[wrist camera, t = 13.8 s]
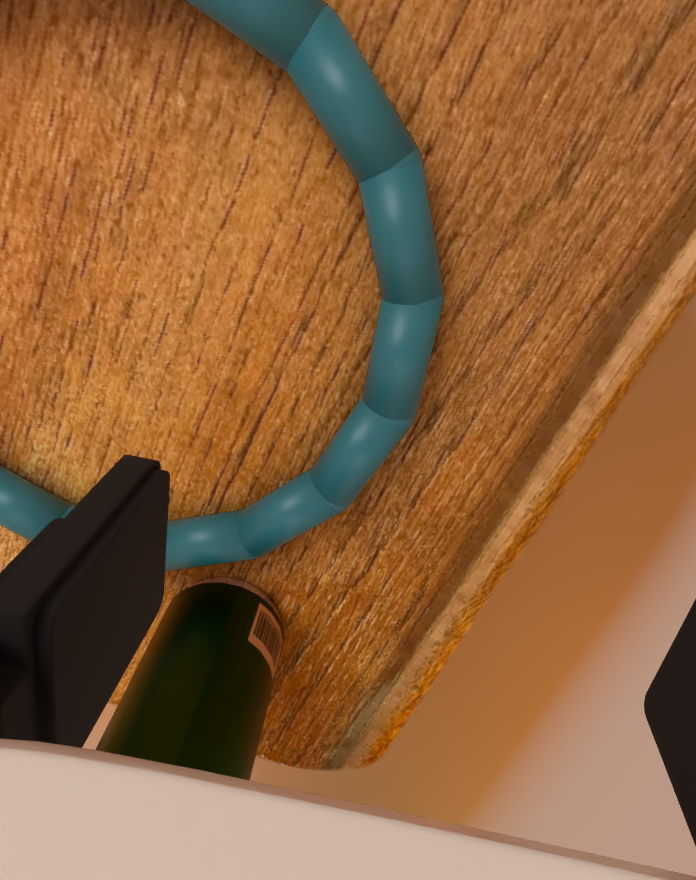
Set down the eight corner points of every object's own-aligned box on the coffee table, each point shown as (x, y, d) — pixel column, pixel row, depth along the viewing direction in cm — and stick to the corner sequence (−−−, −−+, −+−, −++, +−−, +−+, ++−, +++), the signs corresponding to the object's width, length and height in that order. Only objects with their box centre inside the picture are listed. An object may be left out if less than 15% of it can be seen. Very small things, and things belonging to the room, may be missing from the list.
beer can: (238, 551, 27) (125, 830, 16) (310, 636, 29) (252, 938, 18) (146, 601, 29) (-12, 882, 18) (219, 678, 30) (116, 977, 20)
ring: (518, -23, 18) (530, -40, 16) (371, 591, 27) (368, 624, 26) (-260, -172, 18) (-335, -205, 16) (-130, 494, 27) (-168, 520, 26)
